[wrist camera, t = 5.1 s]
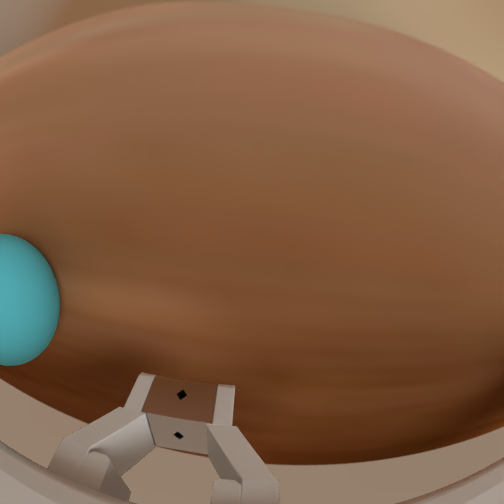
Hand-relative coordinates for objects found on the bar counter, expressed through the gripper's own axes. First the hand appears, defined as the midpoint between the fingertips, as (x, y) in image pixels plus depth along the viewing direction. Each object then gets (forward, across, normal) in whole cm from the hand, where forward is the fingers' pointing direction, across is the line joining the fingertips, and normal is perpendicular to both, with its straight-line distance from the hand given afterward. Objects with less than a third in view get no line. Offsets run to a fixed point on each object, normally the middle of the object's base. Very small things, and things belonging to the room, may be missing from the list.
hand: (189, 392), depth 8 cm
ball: (+2, +9, -1) cm, 10 cm away
